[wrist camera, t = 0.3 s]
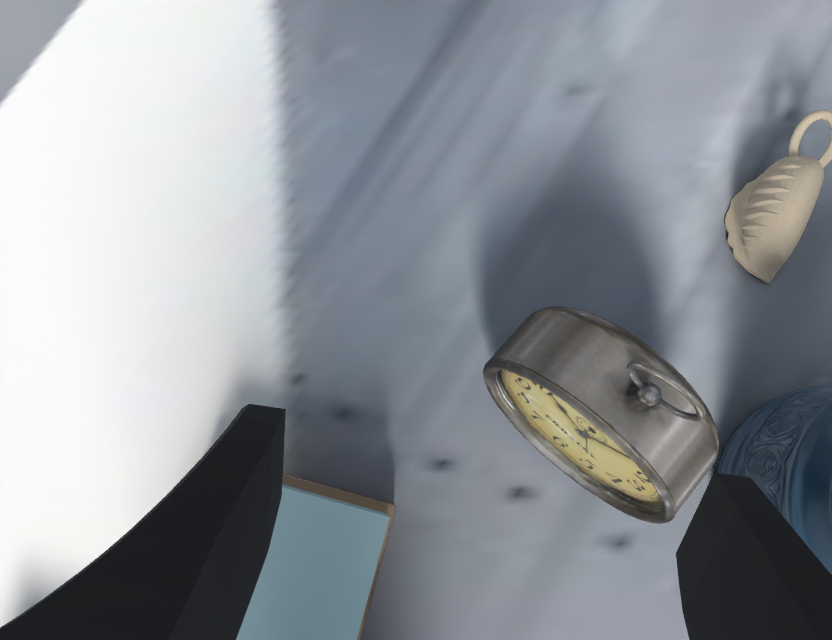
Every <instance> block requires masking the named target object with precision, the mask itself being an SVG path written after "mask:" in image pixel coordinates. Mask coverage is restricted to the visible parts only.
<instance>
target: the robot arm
mask: <svg viewBox="0 0 832 640" xmlns="http://www.w3.org/2000/svg"><path fill="white" fill-rule="evenodd" d="M285 411H286V409H280V408H273V407H267V406H260V405H253V404H248V405H247V406H245V407H244V408H242V410H241V411H240V412H239V414H238V415H237V416H236V418H235V419H234V420H233V421H232V423H231V424H230V425H229V427H228V428H227V429H226V430H225V431H224V433H223V434H222V435H221V436H220V438H219V439H218V440H217V441H216V442H215V443H214V445H213V446H212V447H211V448H210V449H209V450H208V452H207V453H206V454H205V455H204V456H203V457H202V458H201V460H200V461H199V462H198V463H197V464H196V465H195V466H194V467H193V468H192V469H191V470H190V471H189V472H188V473H187V474H186V476H185V477H184V478H183V479H182V480H181V481H180V482H179V483H178V484H177V485H176V486H175V487H174V488H173V489H172V490H171V491H170V492H169V493H168V494H167V495H166V496H165V497H164V498H163V499H162V500H161V501H160V502H159V503H158V504H157V505H156V506H155V507H154V508H153V509H152V510H151V511H150V512H149V513H148V514H147V515H145V516H144V517H143V518H142V519H141V520H140V521H139V522H138V523H137V524H136V525H135V526H134V527H133V528H132V529H131V530H129V531H128V532H127V533H126V534H125V535H124V536H123V537H122V538H120V539H119V540H118V541H117V542H116V543H115V544H113V545H112V546H111V547H110V548H109V549H108V550H106V551H105V552H104V553H103V554H101V555H100V556H99V557H98V558H97V559H95V560H94V561H93V562H92V563H90V564H89V565H88V566H87V567H85V568H84V569H83V570H82V571H80V572H79V573H78V574H76V575H75V576H74V577H72V578H71V579H70V580H68V581H67V582H66V583H64V584H63V585H62V586H60V587H59V588H58V589H56V590H55V591H54V592H52V593H51V594H49V595H48V596H47V597H45V598H44V599H43V600H41V601H40V602H38V603H37V604H35V605H34V606H33V607H31V608H30V609H28V610H27V611H25V612H24V613H22V614H21V615H19V616H18V617H16V618H15V619H13V620H12V621H10V622H9V623H7V624H5V625H4V626H2V627H1V628H0V640H236V639H237V636H238V633H239V630H240V628H241V625H242V622H243V619H244V617H245V614H246V611H247V609H248V606H249V603H250V600H251V598H252V595H253V592H254V589H255V587H256V584H257V581H258V578H259V576H260V573H261V570H262V567H263V565H264V562H265V559H266V556H267V553H268V550H269V546H270V542H271V538H272V534H273V530H274V526H275V522H276V518H277V514H278V509H279V505H280V501H281V497H282V478H283V456H284V433H285ZM676 558H677V567H678V577H679V586H680V594H681V601H682V608H683V614H684V618H685V623H686V627H687V631H688V635H689V639H690V640H832V575H831V573H830V572H829V571H828V570H827V569H826V568H825V566H824V565H823V564H822V563H821V562H820V561H819V559H818V558H817V557H816V556H815V555H814V553H813V552H812V551H811V550H810V549H809V547H808V546H807V545H806V544H805V543H804V541H803V540H802V539H801V538H800V536H799V535H798V534H797V533H796V532H795V530H794V529H793V528H792V527H791V525H790V524H789V523H788V522H787V521H786V519H785V518H784V517H783V516H782V514H781V513H780V512H779V511H778V510H777V508H776V507H775V506H774V505H773V503H772V502H771V501H770V500H769V499H768V497H767V496H766V495H765V494H764V493H763V491H762V490H761V489H760V488H759V487H758V486H757V484H756V483H755V482H754V481H753V480H752V479H751V478H750V477H743V476H736V475H730V474H723V473H716V472H714V474H713V476H712V478H711V480H710V483H709V485H708V487H707V489H706V491H705V493H704V495H703V497H702V500H701V502H700V504H699V506H698V508H697V510H696V512H695V514H694V516H693V519H692V521H691V523H690V525H689V527H688V529H687V531H686V533H685V536H684V538H683V540H682V542H681V544H680V546H679V548H678V550H677V552H676Z"/></svg>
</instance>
